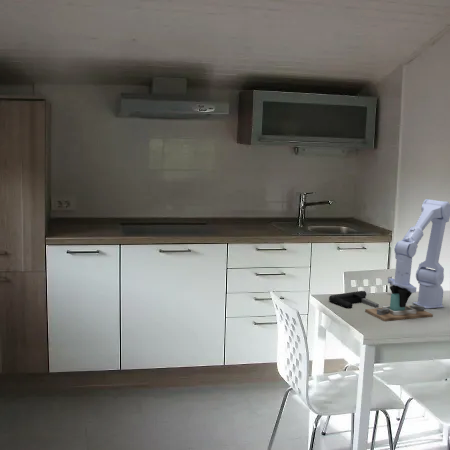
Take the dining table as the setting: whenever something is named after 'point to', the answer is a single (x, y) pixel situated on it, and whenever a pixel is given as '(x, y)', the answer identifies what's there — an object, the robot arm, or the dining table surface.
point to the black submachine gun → (351, 299)
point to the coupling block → (395, 303)
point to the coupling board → (399, 313)
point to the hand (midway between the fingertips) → (399, 305)
